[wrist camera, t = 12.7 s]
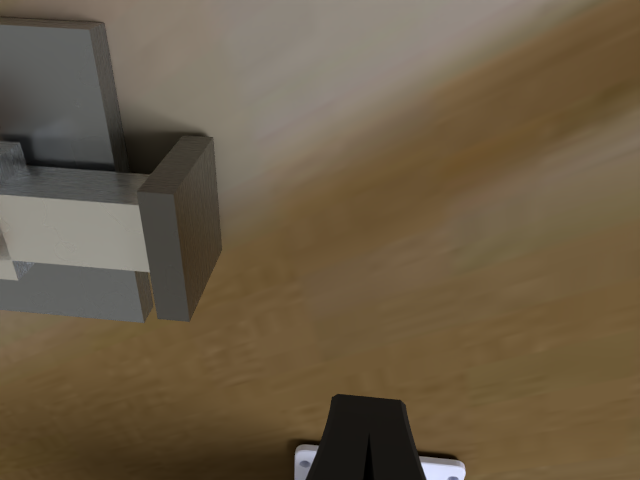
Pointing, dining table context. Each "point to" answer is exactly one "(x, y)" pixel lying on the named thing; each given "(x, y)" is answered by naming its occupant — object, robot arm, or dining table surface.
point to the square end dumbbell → (117, 221)
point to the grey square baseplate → (66, 153)
